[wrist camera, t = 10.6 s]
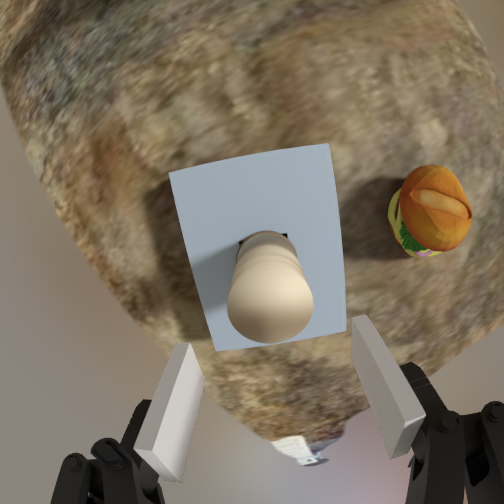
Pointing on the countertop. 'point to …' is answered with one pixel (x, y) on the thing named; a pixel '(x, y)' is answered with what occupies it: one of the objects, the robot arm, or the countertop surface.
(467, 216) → the cheeseburger
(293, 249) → the peg
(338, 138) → the countertop surface
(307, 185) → the board
